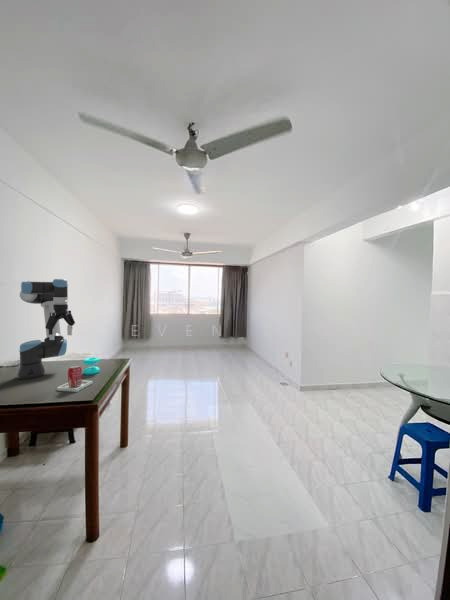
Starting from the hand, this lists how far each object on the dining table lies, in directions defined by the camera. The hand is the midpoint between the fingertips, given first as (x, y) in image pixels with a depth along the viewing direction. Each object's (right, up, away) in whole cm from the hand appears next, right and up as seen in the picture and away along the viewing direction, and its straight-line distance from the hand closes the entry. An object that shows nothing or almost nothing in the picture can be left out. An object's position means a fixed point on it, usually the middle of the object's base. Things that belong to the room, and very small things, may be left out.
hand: (61, 337), depth 158 cm
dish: (+14, -29, -8) cm, 33 cm away
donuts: (+10, -28, +18) cm, 35 cm away
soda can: (+14, -28, -8) cm, 32 cm away
